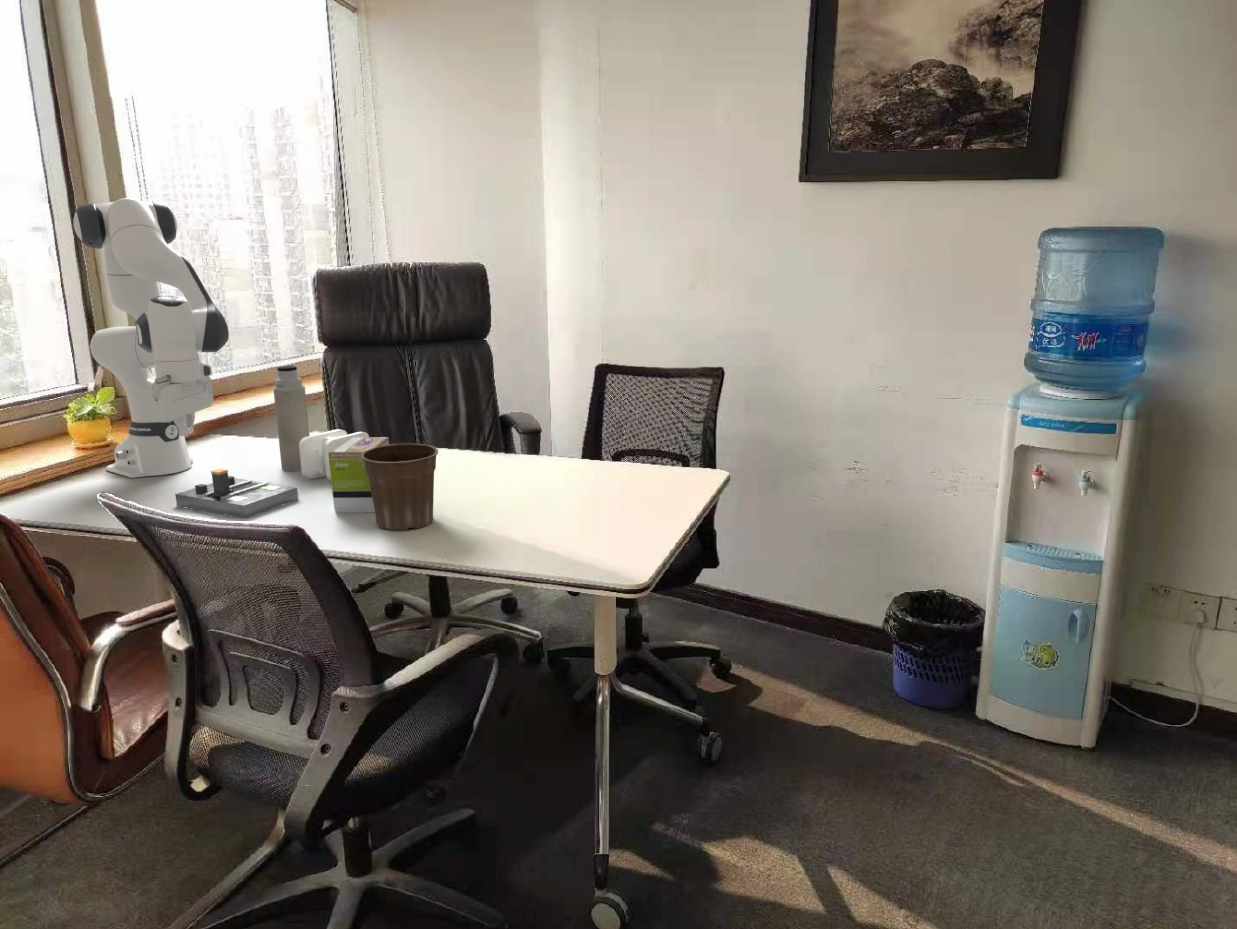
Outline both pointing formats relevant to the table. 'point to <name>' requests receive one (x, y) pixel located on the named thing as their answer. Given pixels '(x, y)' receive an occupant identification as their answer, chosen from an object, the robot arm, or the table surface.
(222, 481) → the breaker lever
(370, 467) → the plant pot
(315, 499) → the table surface
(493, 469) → the table surface
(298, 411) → the thermos bottle
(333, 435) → the cable organizer
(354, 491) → the tea box
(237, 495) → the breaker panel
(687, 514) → the table surface
